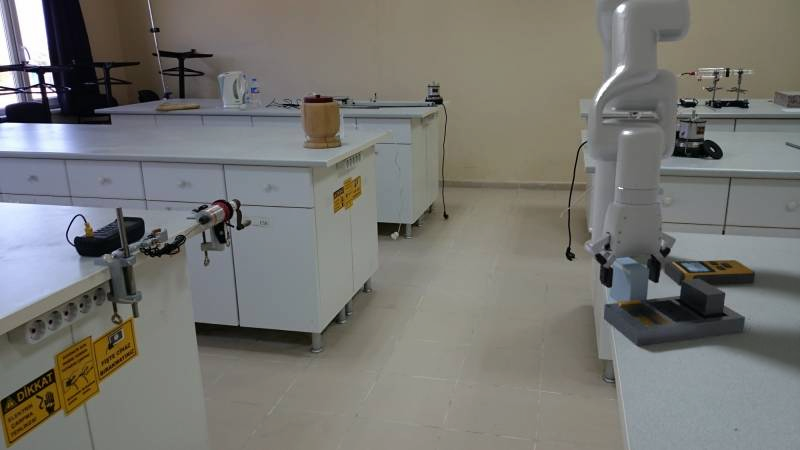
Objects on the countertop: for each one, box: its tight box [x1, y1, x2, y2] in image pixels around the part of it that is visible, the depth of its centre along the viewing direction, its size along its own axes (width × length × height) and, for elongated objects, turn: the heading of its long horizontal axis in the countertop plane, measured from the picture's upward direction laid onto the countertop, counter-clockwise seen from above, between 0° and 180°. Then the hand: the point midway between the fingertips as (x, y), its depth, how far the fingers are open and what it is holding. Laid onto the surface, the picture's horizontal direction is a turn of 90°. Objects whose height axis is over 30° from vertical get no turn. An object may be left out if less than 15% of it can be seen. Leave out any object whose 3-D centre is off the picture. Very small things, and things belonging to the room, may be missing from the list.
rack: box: [603, 279, 746, 347], centre depth 108 cm, size 11×20×7 cm, turn 101°
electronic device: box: [663, 259, 756, 286], centre depth 129 cm, size 8×16×3 cm, turn 90°
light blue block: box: [609, 257, 649, 303], centre depth 118 cm, size 7×4×8 cm, turn 11°
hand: (629, 283), depth 117 cm, fingers open, 9 cm apart
